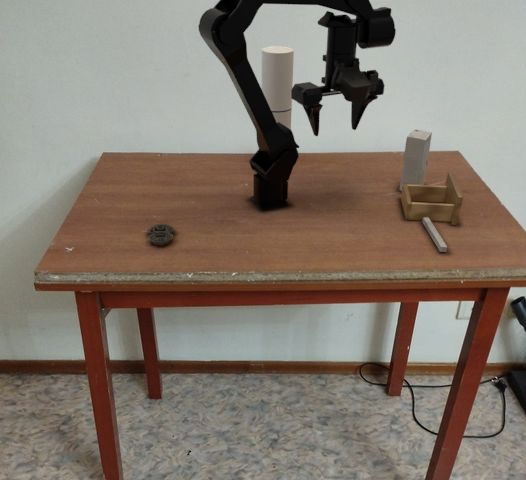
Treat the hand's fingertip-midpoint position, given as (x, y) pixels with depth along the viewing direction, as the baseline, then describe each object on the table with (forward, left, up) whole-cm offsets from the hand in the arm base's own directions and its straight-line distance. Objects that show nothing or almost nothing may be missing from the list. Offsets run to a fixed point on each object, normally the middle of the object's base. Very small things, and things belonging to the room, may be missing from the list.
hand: (335, 132), depth 124 cm
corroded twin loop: (-41, -6, -13) cm, 44 cm away
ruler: (+8, -27, -13) cm, 31 cm away
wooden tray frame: (+14, -17, -13) cm, 25 cm away
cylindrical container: (-3, +22, -13) cm, 26 cm away
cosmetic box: (+18, -6, -13) cm, 23 cm away
